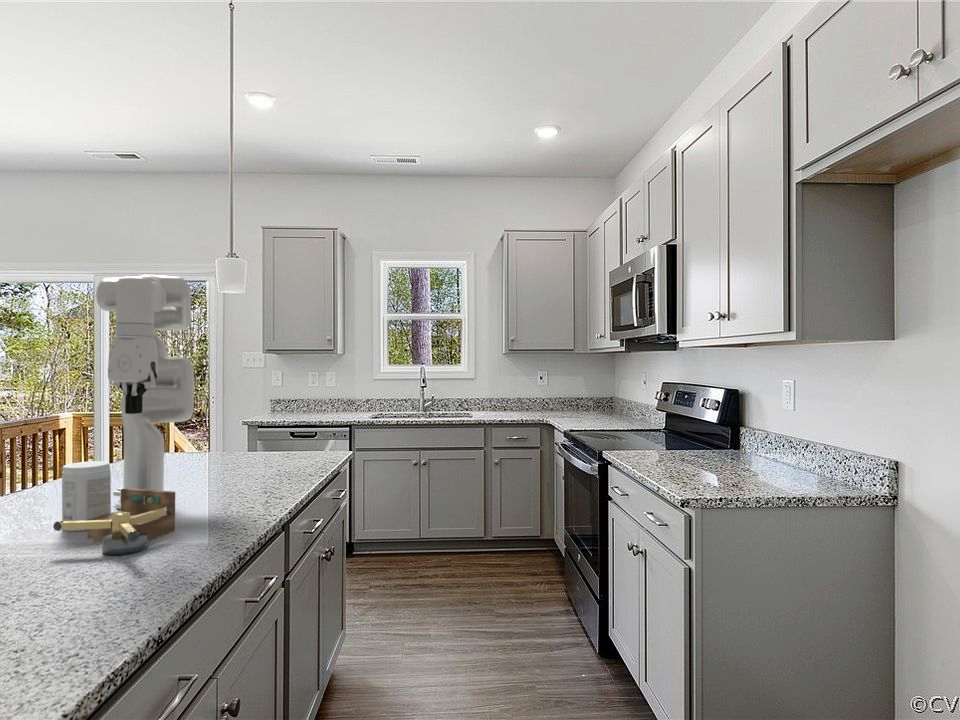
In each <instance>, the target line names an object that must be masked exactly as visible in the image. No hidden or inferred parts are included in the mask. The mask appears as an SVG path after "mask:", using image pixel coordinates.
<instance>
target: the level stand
mask: <svg viewBox="0 0 960 720" xmlns="http://www.w3.org/2000/svg"><path fill="white" fill-rule="evenodd" d="M122 488H123V487H122ZM166 506H168V507H170V508H171V513H170V514H169V515H167V516H162V517H158V518H155V519H151V520H148V521H144V522H141V523H137V524H134V525H131V526H132V527H133V528H134V529H135V530H136V531H141V532H146V533H147V542H148V541H150V540H154V539H157V538H159V537H162V536H165V535H168V534H171V533H173V531H174V532H175V531H176V491H170V490H169V491H168V490H164V491H159V490H146V489H134V488H123V489H121V509H119V510H116V511H114V512H111V513H110V514H106V515H102V516H99V517H95V518H92V519H88V520H112V514H114V513H119V512H130V517H131V516H135V515H138V514H142V513H146V512H150V511H153V510H157V509H161V508H164V507H166ZM170 532H171V533H170ZM86 533H87V534H86V535H87V539H94V540H95V539H96V540H102V539H103V538H104V537H106V536H108V535H111V534H112V528H104V529H88V531H86Z"/></svg>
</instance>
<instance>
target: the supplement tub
mask: <svg viewBox="0 0 960 720" xmlns="http://www.w3.org/2000/svg"><path fill="white" fill-rule="evenodd" d="M111 477H112V476H111V465H110V462H109V461H105V460H104V461H103V460H90V461H88V460H87V461H81V462H80V461H79V462H74V463H68V464H64V465H63V466H62V471H61V505H62V506H61V511H62V512H61V514H62V515H61V521H87V520H88V519H92V518H95V517H99V516H102V515H106V514H110V513H112V510H111V509H112V506H111V505H112V501H111V499H112V497H111V495H112V493H111V492H112V491H111V488H112V485H111V484H112V483H111ZM66 531H68V532H87V531H88V529H76V530H66Z"/></svg>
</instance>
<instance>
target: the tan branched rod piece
mask: <svg viewBox="0 0 960 720" xmlns="http://www.w3.org/2000/svg"><path fill="white" fill-rule="evenodd" d="M170 513H171V508H170V507H168V506H166V507H164V508H161V509H157V510H153V511H150V512H146V513H142V514H138V515H135V516H131V517H130V512H119V513H114V514H112V520H87V521H62V520H57V521H55V522H54V523H53V525H52V526H53V527H52V528H53V530H55V531H57V532H61V531H67V530H76V529H104V528H112V534H111V535H108V536H106V537H104V538H103V539H101V541H102V544H101V545H102V547H101V550H102V551H101V552H102V554H105V555H107V556H108V555H109V556H119V555H129V554H133V553H137V552H141V551H143V550H145V549H147V547H148V541H147V533H146V532H141V531H136V530H135V529H134V528H133V527H132V526H131V525H134V524H137V523H141V522H144V521H148V520H151V519H155V518H158V517H162V516H167V515H169V514H170Z"/></svg>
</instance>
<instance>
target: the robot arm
mask: <svg viewBox="0 0 960 720" xmlns="http://www.w3.org/2000/svg"><path fill="white" fill-rule="evenodd" d="M95 298H96V302H97V304H98V306H99V307H100V309H101V310H102V311H105V312H115V327H114V329H113V331H114V333H115V337H113V338H112V341H111V344H110V348H109V355H108V361H107V363H108V364H107V367H108V368H107V379H108V381H110V382H112V386H113V387H115V388H118V389H120V390H121V392H122V395H121V398H120V411H121V417H122V419H121V420H122V424H123V425H122V426H123V477H122V478H123V481H122V482H123V485H122V487H118V488H117V490H115V491H114V492H113V494H112V495H113V496H114V497H120V498H119V500H118V501H117V502H116V503H115V508H117V509H118V510H121V489H123V488H134V489H146V490H159V491H165V490H164V485H165V483H164V478H165V474H164V473H165V438H164V436H163V434H162V433H161V431H160V430H159V429H158V428H156V426H155V425H154V424H160V423H183V422H187V421H189V420H190V419H191V418H192V416H193V413H194V409H195V408H194V407H195V405H194V404H195V371H194V364H193V363H192V361H191V360H190V359H188V358H187V357H179V356H174V357H173V356H171V357H170V356H167V347H166V345H165V343H164V342H163V341H162V340H161V338H159V337H158V335H156V334H155V331H175V332H176V331H185V330H187V329H189V327H190V325H191V322H192V299H191V290H190V287H189V284H188V282H187V280H186V279H185V278H183V277H181V276H173V275H172V276H171V275H156V274H142V275H139V276H137V275H136V276H124V277H123V276H121V277H106V278H103V279H101V280H100V282H99V283H98V285H97V287H96V294H95Z"/></svg>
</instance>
